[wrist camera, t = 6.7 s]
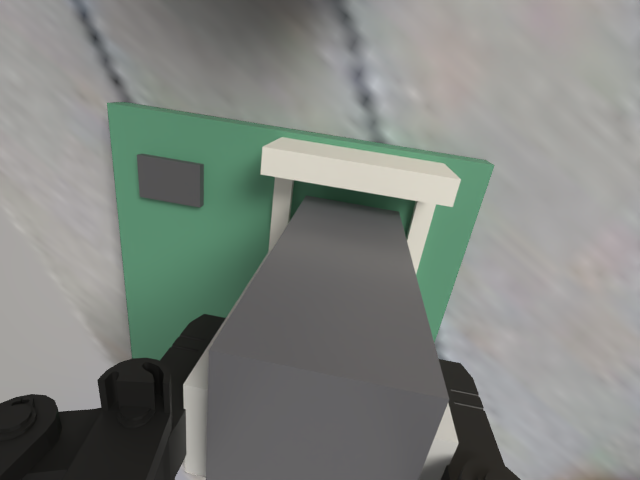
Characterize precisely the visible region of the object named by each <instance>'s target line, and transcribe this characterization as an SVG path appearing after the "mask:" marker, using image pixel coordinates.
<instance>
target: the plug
mask: <svg viewBox="0 0 640 480" xmlns="http://www.w3.org/2000/svg"><path fill="white" fill-rule="evenodd" d="M448 402H449V396H448V393H447V389H446V385H445V381H444V378H443V374H442V370H441V366H440V363H439V359H438V355H437V352H436V348H435V344H434V340H433V337H432V333H431V329H430V325H429V322H428V318H427V314H426V310H425V307H424V303H423V299H422V296H421V292H420V288H419V284H418V281H417V277H416V273H415V269H414V266H413V262H412V258H411V254H410V251H409V247H408V243H407V240H406V236H405V232H404V228H403V225H402V221H401V217H400V213H399V212H398V211H392V210H386V209H381V208H375V207H369V206H364V205H358V204H352V203H346V202H341V201H335V200H329V199H323V198H318V197H312V196H305V198H304V199H303V201H302V203H301V204H300V206H299V207H298V209H297V211H296V212H295V214H294V215H293V217H292V219H291V220H290V222H289V223H288V225H287V226H286V228H285V230H284V231H283V233H282V234H281V236H280V238H279V239H278V241H277V242H276V244H275V246H274V247H273V249H272V250H271V252H270V253H269V255H268V257H267V258H266V260H265V261H264V263H263V265H262V266H261V268H260V269H259V271H258V273H257V274H256V276H255V277H254V279H253V280H252V282H251V284H250V285H249V287H248V288H247V290H246V292H245V293H244V295H243V296H242V298H241V300H240V301H239V303H238V304H237V306H236V307H235V309H234V311H233V312H232V314H231V315H230V317H229V319H228V320H227V322H226V323H225V325H224V327H223V328H222V330H221V331H220V333H219V334H218V336H217V338H216V339H215V341H214V342H213V344H212V346H211V347H210V349H209V361H208V406H207V450H206V480H418V479H419V476H420V474H421V471H422V469H423V466H424V463H425V461H426V458H427V456H428V453H429V451H430V448H431V445H432V443H433V440H434V438H435V435H436V433H437V430H438V427H439V425H440V422H441V420H442V417H443V415H444V412H445V409H446V407H447V404H448Z"/></svg>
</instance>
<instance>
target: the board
mask: <svg viewBox="0 0 640 480" xmlns="http://www.w3.org/2000/svg"><path fill="white" fill-rule="evenodd" d="M107 108H108V118H109V128H110V138H111V148H112V158H113V169H114V179H115V189H116V199H117V209H118V219H119V229H120V240H121V250H122V260H123V270H124V280H125V290H126V300H127V310H128V321H129V331H130V341H131V351H132V359H133V358H152V359H157V360H159V361H160V359H161V358H162V357H163V356H164V354H165V353H166V352H167V351H168V349H169V348H170V347H172V344H173V343H174V342H175V340H176V339H177V338H178V337H180V334H181V333H182V332H183V330H184V329H185V328H186V327H187V325H188V324H189V323H190V322H191V321H193V320H195V319H196V318H198V317H200V316H201V315H203V314H208V315H214V316H219V317H224V318H226V317H227V316H228V314H229V313H230V311H231V309H232V308H233V306H234V305H235V303H236V302H237V300H238V299H239V297H240V295H241V294H242V292H243V291H244V289H245V288H246V286H247V285H248V283H249V281H250V280H251V278H252V277H253V275H254V274H255V272H256V271H257V269H258V267H259V266H260V264H261V263H262V261H263V260H264V258H265V256H266V255H267V253H268V252H271V250H272V249H273V247H274V246H275V244H276V242H277V241H278V239H279V238H280V236H281V234H282V233H283V231H284V230H285V228H286V226H287V225H288V223H289V222H290V220H291V219H292V217H293V215H294V214H295V212H296V211H297V209H298V207H299V206H300V204H301V203H302V201H303V199H304V198H305V196H312V197H318V198H323V199H329V200H335V201H341V202H346V203H352V204H358V205H364V206H369V207H375V208H381V209H386V210H392V211H398V212H399V213H400V217H401V221H402V225H403V228H404V232H405V236H406V240H407V243H408V247H409V251H410V254H411V258H412V262H413V266H414V269H415V273H416V277H417V281H418V284H419V288H420V292H421V296H422V299H423V303H424V307H425V310H426V314H427V318H428V322H429V325H430V329H431V333H432V337H433V340H434V342H435V339H436V336H437V333H438V330H439V327H440V324H441V321H442V319H443V316H444V313H445V310H446V307H447V304H448V301H449V298H450V295H451V292H452V289H453V286H454V283H455V280H456V277H457V274H458V271H459V268H460V265H461V262H462V259H463V256H464V254H465V251H466V248H467V245H468V242H469V239H470V236H471V233H472V230H473V227H474V224H475V221H476V218H477V215H478V212H479V209H480V206H481V203H482V200H483V197H484V194H485V191H486V189H487V186H488V183H489V180H490V177H491V174H492V171H493V168H494V165H493V164H491V163H490V162H488V161H486V160H481V159H475V158H469V157H463V156H456V155H450V154H444V153H438V152H432V151H425V150H419V149H413V148H407V147H400V146H394V145H388V144H382V143H376V142H369V141H363V140H357V139H351V138H344V137H338V136H332V135H326V134H319V133H313V132H307V131H301V130H295V129H288V128H282V127H276V126H270V125H263V124H257V123H251V122H245V121H239V120H232V119H226V118H220V117H214V116H207V115H201V114H195V113H189V112H182V111H176V110H170V109H164V108H158V107H151V106H145V105H139V104H133V103H126V102H115V103H107Z"/></svg>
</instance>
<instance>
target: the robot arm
mask: <svg viewBox="0 0 640 480" xmlns="http://www.w3.org/2000/svg"><path fill="white" fill-rule="evenodd" d="M269 253H270V252H268V253H267V255H266V256H265V258H264V260H263V261H262V263H261V264H260V266H259V267H258V269H257V271H256V272H255V274H254V275H253V277H252V278H251V280H250V281H249V283H248V285H247V286H246V288H245V289H244V291H243V292H242V294H241V295H240V297H239V299H238V300H237V302H236V303H235V305H234V306H233V308H232V309H231V311H230V313H229V314H228V316H227V317H226V318H224V317H219V316H214V315H208V314H203V315H201V316H200V317H198V318H196V319H195V320H193V321H191V322H190V323H189V324H188V325H187V327H186V328H185V329H184V330H183V332H182V333H181V334H180V337H178V338H177V339H176V340H175V342H174V343H173V344H172V347H170V348H169V349H168V351H167V352H166V353H165V354H164V356H163V357H162V358H161V359H160V361H159V360H157V359H152V358H133V359H130V360H127V361H124V362H121V363H118V364H117V365H115V366H113V367H111V368H110V369H108V370H107V371H106V372H105V373H104V374H103V375H102V376H101V377H100V378H99V379H98V386H99V393H100V399H101V407H102V408H97V409H92V410H91V409H90V410H78V411H63V412H58V408H57V405H56V403H55V401H54V400H53V399H51V398H49V397H47V396H46V395H35V394H31V395H26V396H20V397H16V398H13V399H11V400H8V401H5V402H3V403H0V480H175V476H176V474H177V472H178V470H179V468H180V466H181V464H182V462H183V460H184V458H185V472H186V473H190V474H194V475H199V476H203V477H206V450H207V406H208V361H209V349H210V347H211V346H212V344H213V342H214V341H215V339H216V338H217V336H218V334H219V333H220V331H221V330H222V328H223V327H224V325H225V323H226V322H227V320H228V319H229V317H230V315H231V314H232V312H233V311H234V309H235V307H236V306H237V304H238V303H239V301H240V300H241V298H242V296H243V295H244V293H245V292H246V290H247V288H248V287H249V285H250V284H251V282H252V280H253V279H254V277H255V276H256V274H257V273H258V271H259V269H260V268H261V266H262V265H263V263H264V261H265V260H266V258H267V257H268V255H269ZM439 363H440V366H441V370H442V374H443V378H444V381H445V385H446V389H447V393H448V396H449V402H448V404H447V407H446V409H445V412H444V415H443V417H442V420H441V422H440V425H439V427H438V430H437V433H436V435H435V438H434V440H433V443H432V445H431V448H430V451H429V453H428V456H427V458H426V461H425V463H424V466H423V469H422V471H421V474H420V476H419V479H418V480H520V479H519V478H518V477H517V476H516V475H515V474H514V473H513V472H511V471H510V470H509V469H508V468H507V467H505V465H504V462H503V460H502V457H501V454H500V452H499V449H498V446H497V443H496V441H495V438H494V435H493V432H492V430H491V427H490V424H489V421H488V419H487V416H486V413H485V411H483V405H482V402H481V399H480V397H478V391H477V388H476V386H475V383H474V380H473V378H472V377H471V375H470V374H469V373H468V372H467V371H466V369H465V368H464V367H463V366H462V365H461V363H456V362H451V361H446V360H441V359H439Z"/></svg>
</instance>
